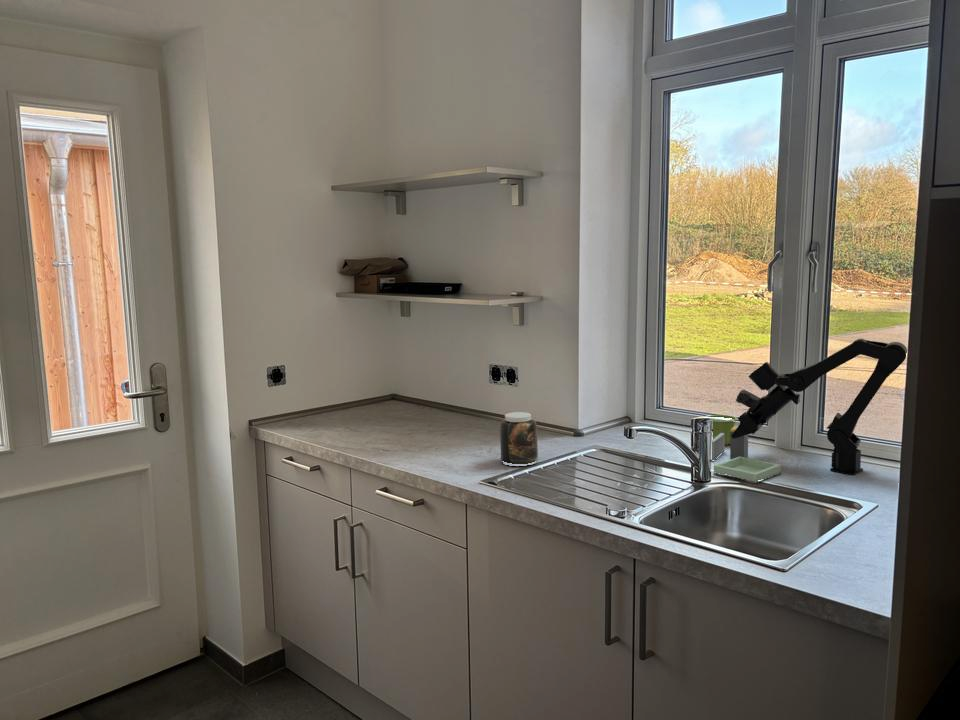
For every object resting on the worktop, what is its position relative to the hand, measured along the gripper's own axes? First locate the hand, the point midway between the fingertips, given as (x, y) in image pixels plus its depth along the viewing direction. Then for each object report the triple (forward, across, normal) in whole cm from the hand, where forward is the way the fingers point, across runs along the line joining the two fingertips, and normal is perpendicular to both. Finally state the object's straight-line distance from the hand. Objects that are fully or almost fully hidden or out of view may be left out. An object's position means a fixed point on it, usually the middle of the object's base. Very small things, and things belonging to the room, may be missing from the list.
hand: (734, 435), depth 225 cm
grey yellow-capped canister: (+4, 0, +6) cm, 7 cm away
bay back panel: (+9, 0, +1) cm, 9 cm away
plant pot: (+11, -16, -1) cm, 19 cm away
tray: (0, +14, +10) cm, 18 cm away
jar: (+46, +31, -35) cm, 66 cm away
